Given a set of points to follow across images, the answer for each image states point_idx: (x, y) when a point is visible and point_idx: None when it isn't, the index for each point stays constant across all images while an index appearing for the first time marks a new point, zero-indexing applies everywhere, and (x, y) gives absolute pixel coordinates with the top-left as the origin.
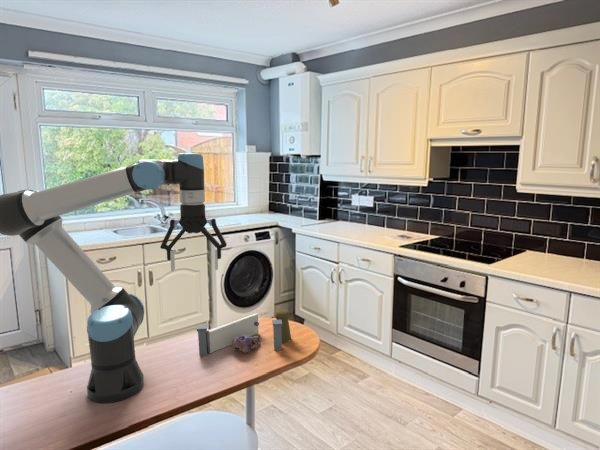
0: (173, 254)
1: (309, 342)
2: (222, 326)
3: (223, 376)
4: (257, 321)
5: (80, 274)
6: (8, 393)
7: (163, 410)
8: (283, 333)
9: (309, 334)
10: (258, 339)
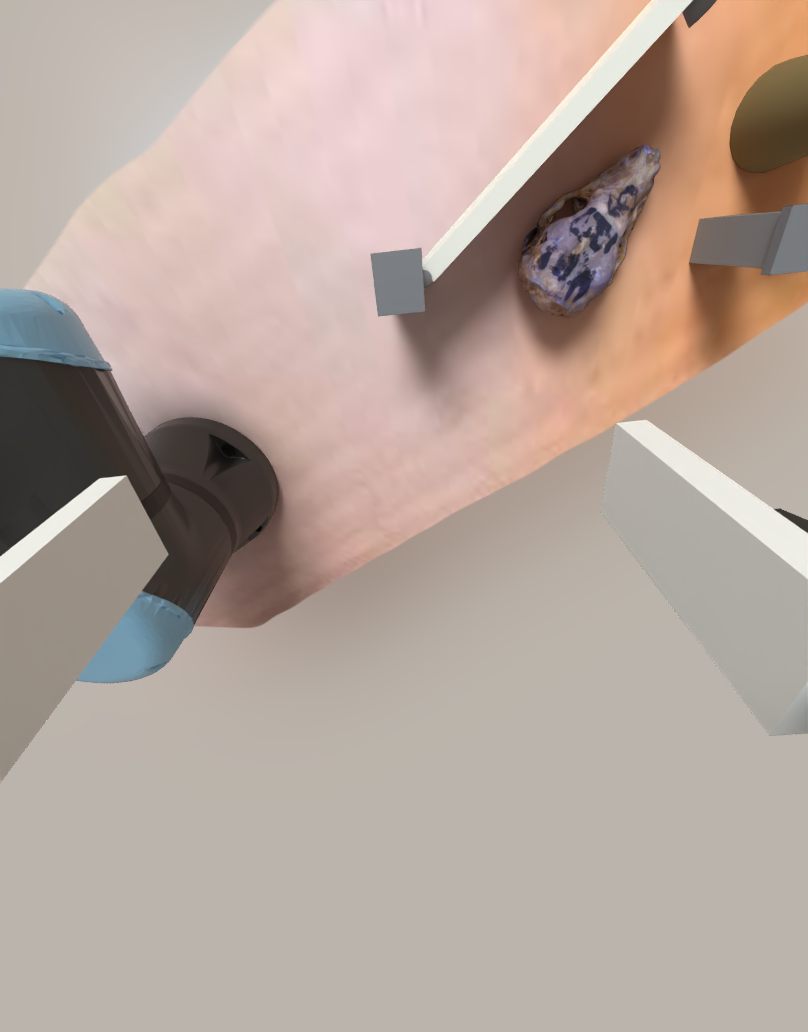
0: (15, 678)
1: None
2: (495, 203)
3: (487, 441)
4: None
5: None
6: None
7: (366, 562)
8: (797, 158)
9: None
10: (650, 188)
